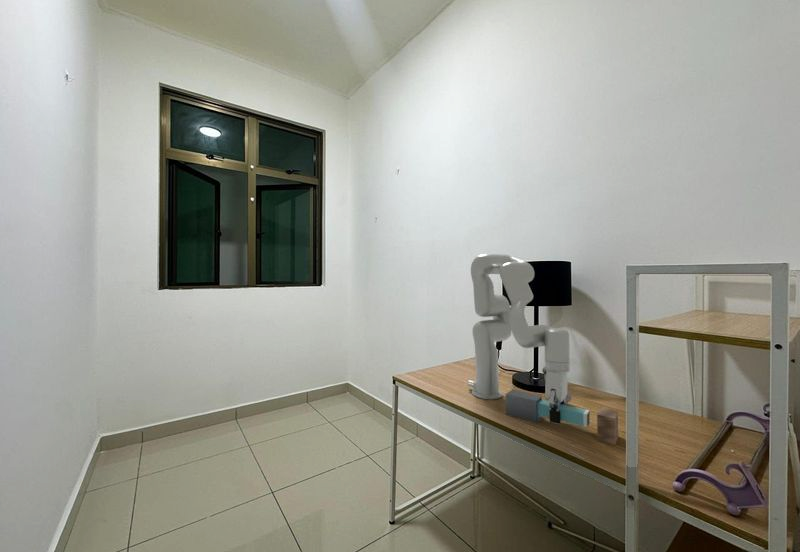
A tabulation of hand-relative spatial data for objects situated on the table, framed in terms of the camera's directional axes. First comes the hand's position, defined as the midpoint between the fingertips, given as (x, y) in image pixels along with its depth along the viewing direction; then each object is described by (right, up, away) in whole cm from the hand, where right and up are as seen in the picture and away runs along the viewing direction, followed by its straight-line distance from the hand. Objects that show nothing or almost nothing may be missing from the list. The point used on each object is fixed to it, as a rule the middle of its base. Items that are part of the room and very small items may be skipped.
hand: (557, 418), depth 108 cm
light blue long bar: (-2, 0, +2) cm, 3 cm away
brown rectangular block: (+11, -2, -9) cm, 14 cm away
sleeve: (-8, -2, +7) cm, 11 cm away
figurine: (+8, -3, +18) cm, 20 cm away
